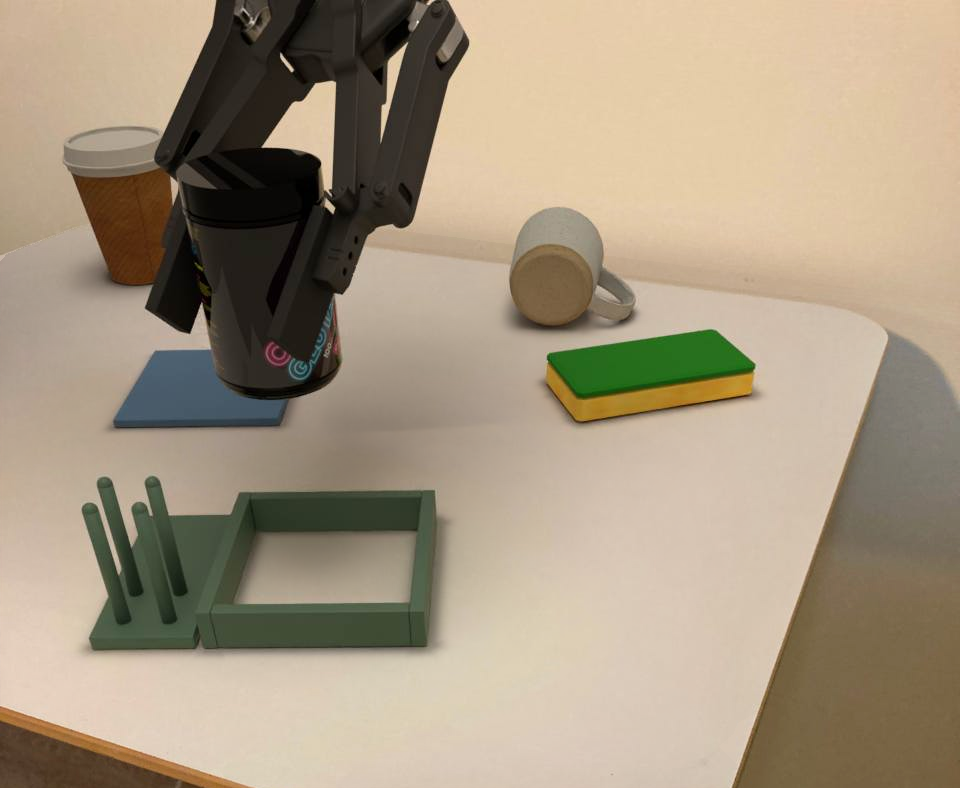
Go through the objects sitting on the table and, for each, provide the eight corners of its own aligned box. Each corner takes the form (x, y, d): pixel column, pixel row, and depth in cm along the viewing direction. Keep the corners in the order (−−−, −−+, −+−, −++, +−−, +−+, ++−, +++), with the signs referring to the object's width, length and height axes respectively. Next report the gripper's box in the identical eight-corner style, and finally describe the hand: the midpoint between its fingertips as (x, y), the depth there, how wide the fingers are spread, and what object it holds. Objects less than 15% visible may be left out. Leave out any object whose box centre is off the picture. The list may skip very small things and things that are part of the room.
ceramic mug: (505, 329, 87) (507, 236, 82) (515, 292, 93) (516, 203, 88) (633, 335, 86) (642, 241, 81) (634, 297, 92) (642, 207, 87)
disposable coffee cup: (104, 258, 103) (71, 126, 95) (201, 253, 103) (176, 121, 95) (83, 294, 95) (45, 154, 88) (187, 289, 96) (159, 150, 88)
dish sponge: (753, 395, 77) (758, 364, 75) (577, 424, 74) (578, 392, 72) (710, 356, 82) (714, 327, 80) (544, 382, 79) (545, 351, 78)
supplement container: (250, 418, 51) (211, 199, 45) (195, 370, 56) (152, 164, 49) (368, 381, 54) (348, 170, 48) (307, 338, 59) (281, 139, 52)
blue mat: (114, 427, 75) (112, 420, 75) (156, 357, 84) (155, 350, 84) (279, 425, 75) (278, 417, 74) (303, 354, 84) (302, 347, 84)
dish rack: (91, 649, 56) (48, 520, 50) (149, 525, 65) (117, 406, 60) (426, 646, 55) (417, 516, 50) (437, 522, 64) (430, 401, 59)
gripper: (587, -39, 50) (430, 405, 50) (265, -56, 58) (127, 330, 58) (541, -172, 44) (358, 342, 43) (182, -172, 51) (23, 266, 51)
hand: (226, 334), depth 50 cm, fingers closed on supplement container, 7 cm apart
